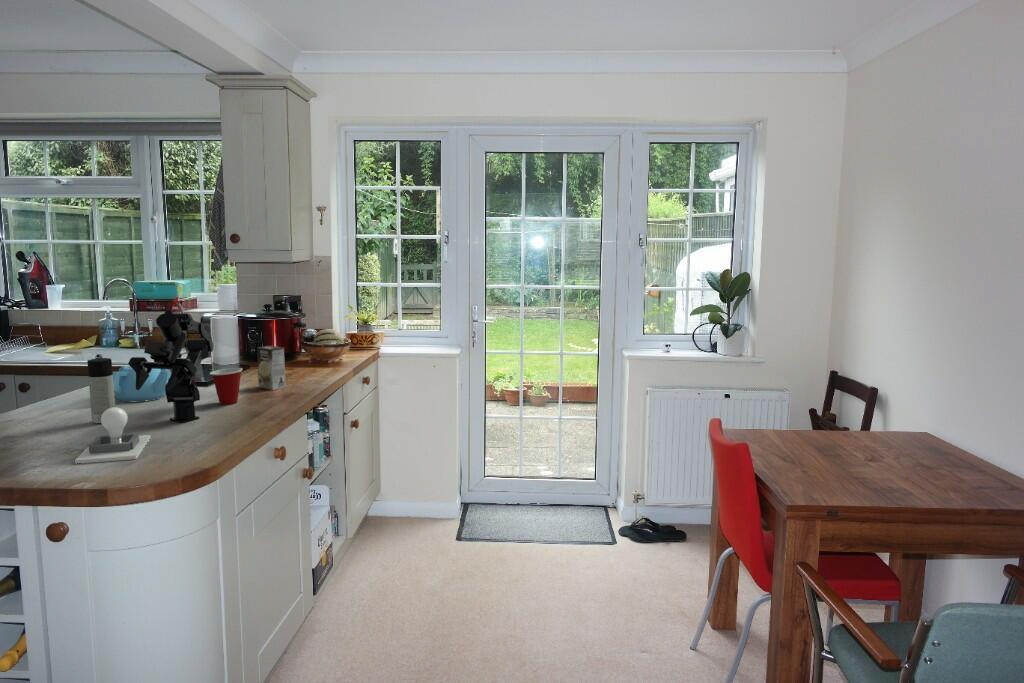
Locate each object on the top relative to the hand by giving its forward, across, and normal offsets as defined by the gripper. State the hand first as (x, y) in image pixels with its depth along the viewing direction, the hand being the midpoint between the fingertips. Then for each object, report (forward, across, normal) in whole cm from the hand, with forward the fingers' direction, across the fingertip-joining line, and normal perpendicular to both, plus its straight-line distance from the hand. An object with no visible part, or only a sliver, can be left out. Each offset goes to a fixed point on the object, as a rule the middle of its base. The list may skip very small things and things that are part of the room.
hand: (151, 389), depth 200 cm
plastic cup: (-19, +1, +39) cm, 43 cm away
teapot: (-22, -34, +42) cm, 58 cm away
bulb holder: (+21, -1, -2) cm, 21 cm away
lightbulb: (+20, -1, -2) cm, 20 cm away
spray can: (+1, -25, +18) cm, 31 cm away
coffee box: (-38, +4, +58) cm, 69 cm away
